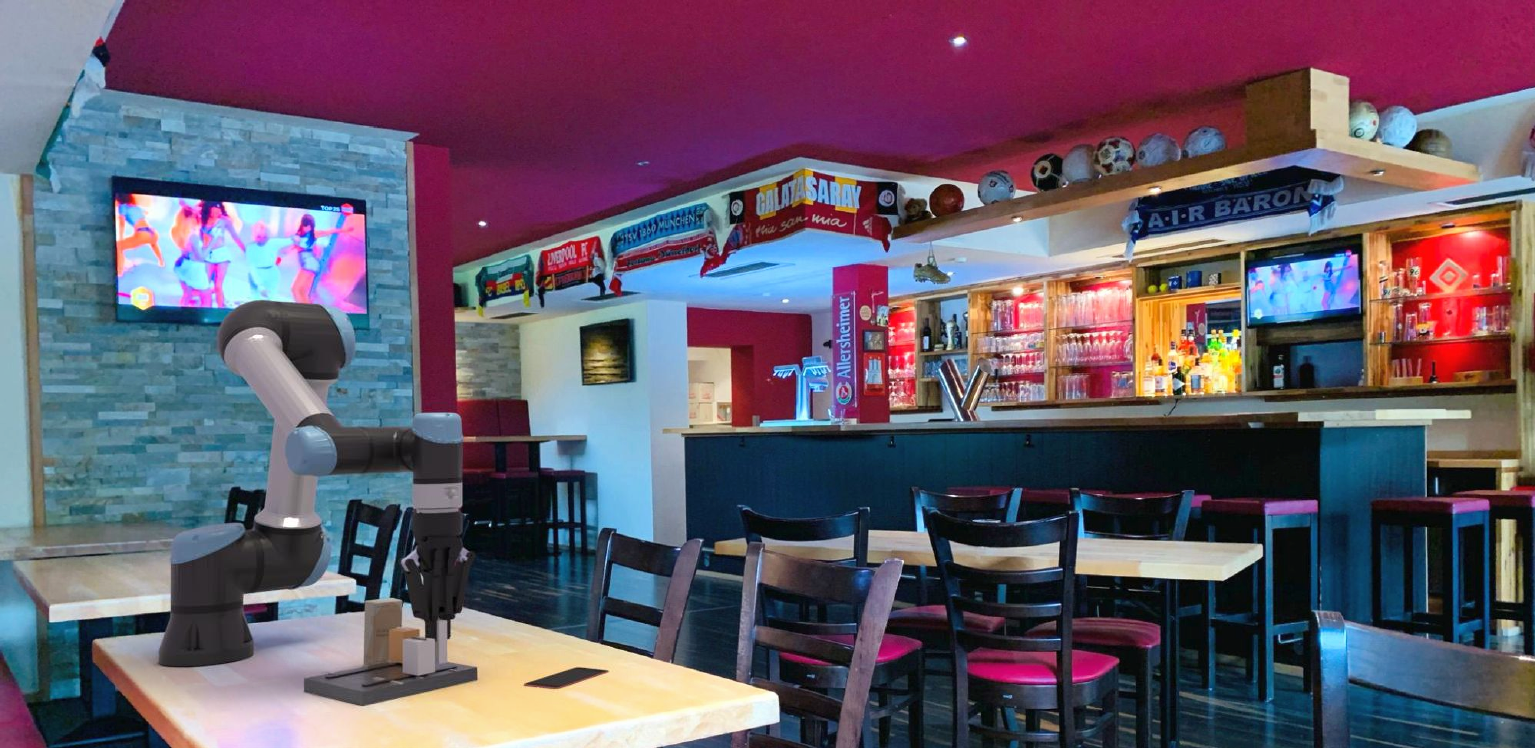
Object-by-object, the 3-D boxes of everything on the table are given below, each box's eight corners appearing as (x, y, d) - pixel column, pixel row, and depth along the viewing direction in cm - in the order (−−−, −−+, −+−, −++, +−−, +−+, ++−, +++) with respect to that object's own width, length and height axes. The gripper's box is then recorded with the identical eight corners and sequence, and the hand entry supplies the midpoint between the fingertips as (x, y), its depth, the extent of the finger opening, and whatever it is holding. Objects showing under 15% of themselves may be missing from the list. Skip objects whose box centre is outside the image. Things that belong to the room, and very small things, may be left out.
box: (372, 669, 183) (372, 602, 184) (362, 666, 187) (362, 600, 187) (403, 665, 187) (403, 599, 187) (392, 661, 190) (393, 596, 191)
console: (302, 691, 168) (302, 676, 169) (416, 668, 184) (416, 654, 184) (364, 705, 158) (364, 690, 158) (478, 680, 174) (478, 666, 174)
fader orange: (388, 660, 179) (388, 628, 179) (405, 657, 181) (405, 625, 181) (403, 663, 176) (403, 630, 176) (419, 660, 179) (419, 627, 179)
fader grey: (402, 672, 169) (402, 638, 170) (419, 668, 172) (419, 635, 172) (418, 675, 167) (418, 640, 167) (434, 671, 169) (434, 637, 169)
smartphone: (611, 670, 179) (557, 688, 167) (611, 673, 179) (557, 692, 167) (576, 666, 182) (521, 683, 170) (576, 669, 182) (521, 687, 170)
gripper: (416, 513, 166) (416, 672, 165) (486, 508, 176) (487, 657, 175) (387, 512, 171) (387, 666, 169) (457, 507, 181) (457, 652, 180)
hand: (437, 661), depth 172 cm, fingers closed
